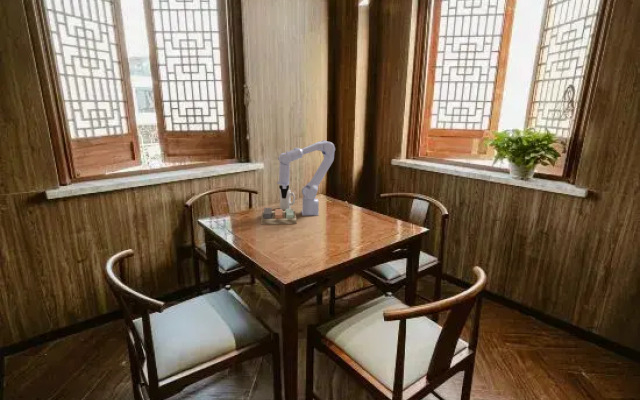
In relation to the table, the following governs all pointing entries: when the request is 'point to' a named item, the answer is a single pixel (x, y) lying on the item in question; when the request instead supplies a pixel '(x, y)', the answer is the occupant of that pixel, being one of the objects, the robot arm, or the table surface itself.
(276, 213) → the key terracotta
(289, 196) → the mug
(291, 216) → the key celadon
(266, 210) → the key charcoal
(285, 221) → the board
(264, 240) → the table surface
